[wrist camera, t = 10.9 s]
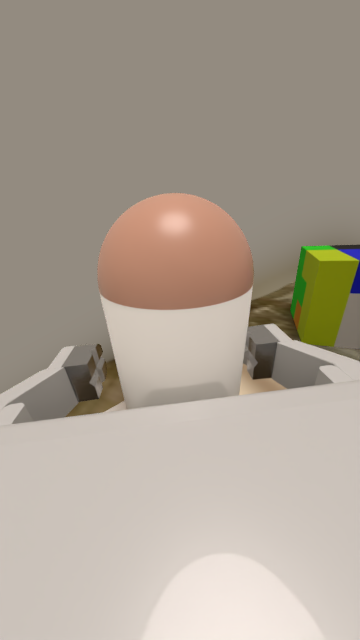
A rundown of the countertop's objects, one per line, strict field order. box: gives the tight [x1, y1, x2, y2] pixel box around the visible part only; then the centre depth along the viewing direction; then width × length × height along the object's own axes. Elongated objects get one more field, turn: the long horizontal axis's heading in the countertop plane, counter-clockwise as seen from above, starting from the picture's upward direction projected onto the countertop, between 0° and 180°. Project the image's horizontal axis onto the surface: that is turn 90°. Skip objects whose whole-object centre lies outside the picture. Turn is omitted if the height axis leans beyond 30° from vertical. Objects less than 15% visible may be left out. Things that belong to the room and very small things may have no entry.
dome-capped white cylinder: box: [97, 193, 254, 409], centre depth 9 cm, size 5×5×14 cm
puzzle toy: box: [290, 245, 360, 349], centre depth 26 cm, size 10×10×10 cm
